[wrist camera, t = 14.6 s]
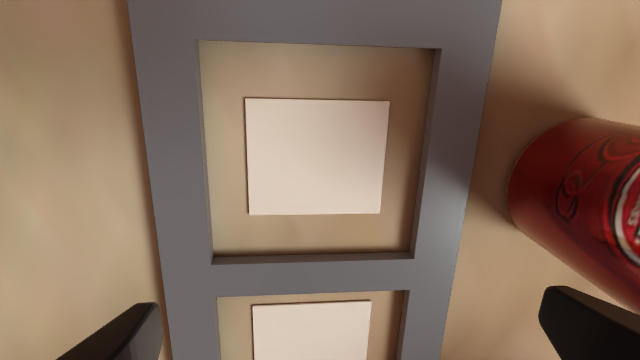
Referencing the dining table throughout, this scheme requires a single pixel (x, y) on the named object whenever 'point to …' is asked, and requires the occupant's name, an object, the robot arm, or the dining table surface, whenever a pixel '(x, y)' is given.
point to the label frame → (310, 170)
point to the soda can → (584, 201)
